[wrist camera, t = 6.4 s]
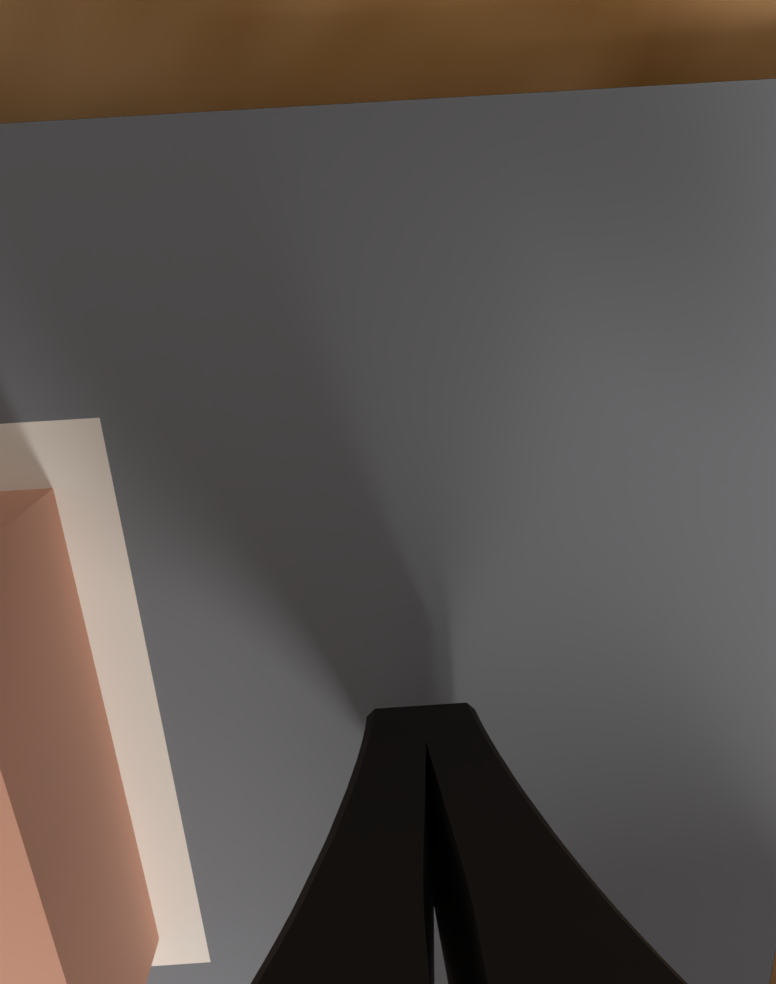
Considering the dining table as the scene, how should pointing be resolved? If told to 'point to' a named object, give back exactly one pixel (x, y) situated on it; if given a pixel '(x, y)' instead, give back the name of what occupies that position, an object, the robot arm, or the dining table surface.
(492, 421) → the board
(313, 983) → the robot arm
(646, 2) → the dining table surface
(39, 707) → the t block
